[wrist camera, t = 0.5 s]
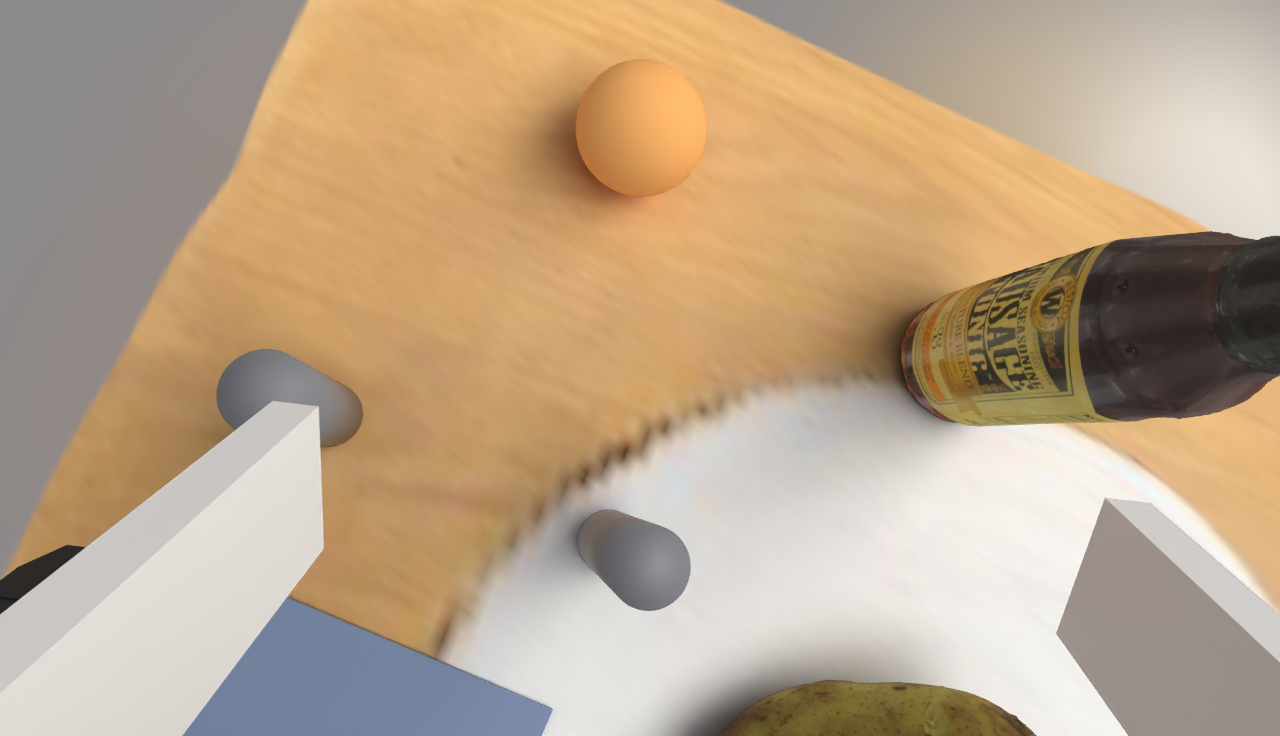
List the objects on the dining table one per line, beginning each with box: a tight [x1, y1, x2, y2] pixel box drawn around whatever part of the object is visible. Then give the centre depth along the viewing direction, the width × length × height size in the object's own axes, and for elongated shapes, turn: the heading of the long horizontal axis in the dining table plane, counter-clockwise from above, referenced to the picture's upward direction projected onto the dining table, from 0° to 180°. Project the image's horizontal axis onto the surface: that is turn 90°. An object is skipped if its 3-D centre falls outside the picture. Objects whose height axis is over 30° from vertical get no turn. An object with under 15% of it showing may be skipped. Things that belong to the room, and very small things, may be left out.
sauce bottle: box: [901, 232, 1280, 426], centre depth 27 cm, size 6×6×20 cm
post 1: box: [217, 349, 363, 447], centre depth 27 cm, size 3×3×9 cm
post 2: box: [578, 510, 690, 611], centre depth 28 cm, size 3×3×9 cm
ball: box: [576, 59, 707, 197], centre depth 32 cm, size 6×6×6 cm
